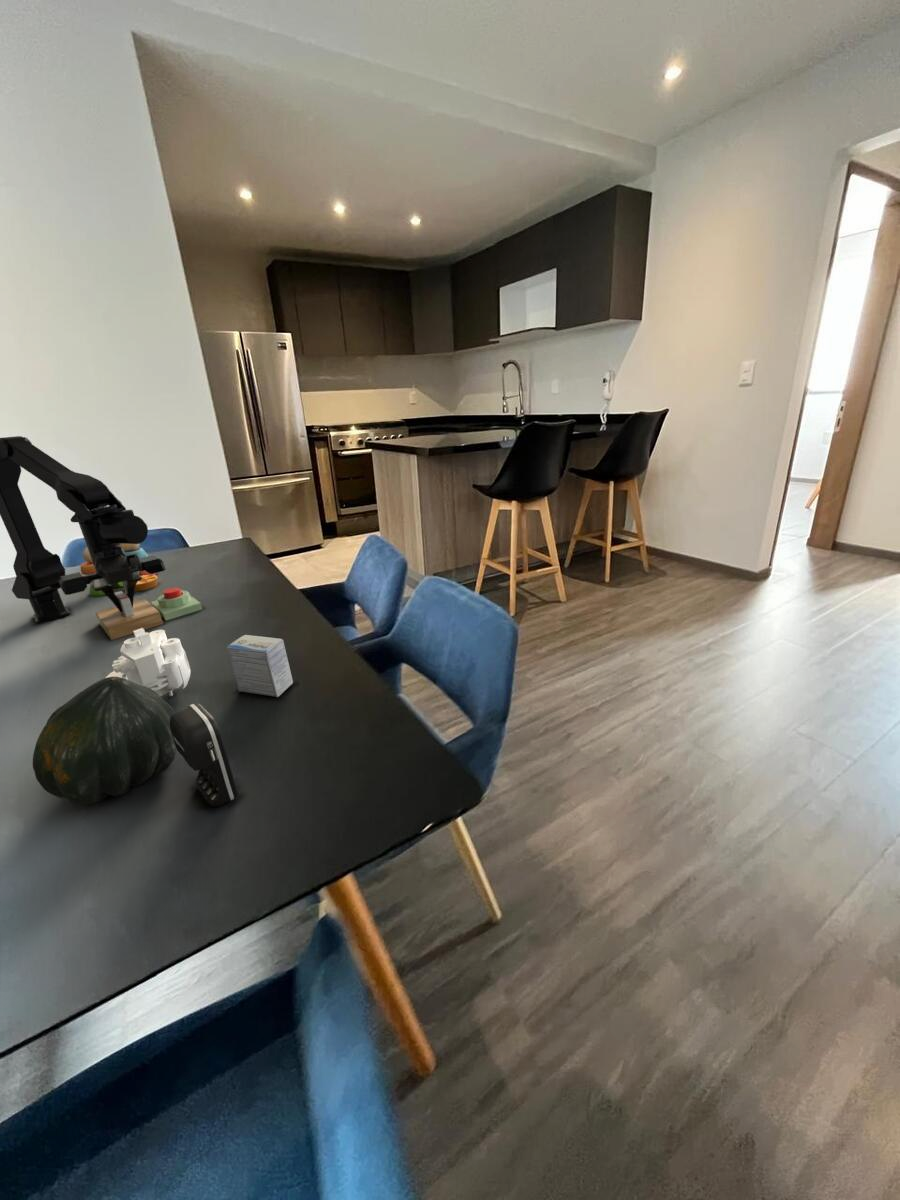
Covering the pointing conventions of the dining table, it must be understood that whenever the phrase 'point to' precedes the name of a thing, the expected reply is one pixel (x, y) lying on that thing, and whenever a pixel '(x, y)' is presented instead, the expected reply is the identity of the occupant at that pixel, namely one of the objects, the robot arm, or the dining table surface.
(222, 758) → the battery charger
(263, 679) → the medicine box
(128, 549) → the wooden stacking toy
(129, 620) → the block
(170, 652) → the mechanical part
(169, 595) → the button
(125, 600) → the grey block
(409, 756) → the dining table surface
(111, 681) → the squash
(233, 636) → the dining table surface
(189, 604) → the box
